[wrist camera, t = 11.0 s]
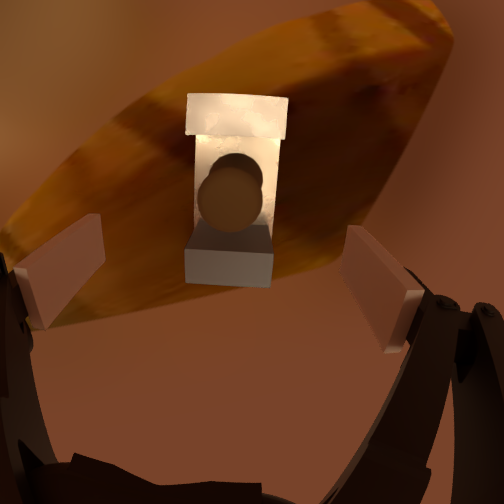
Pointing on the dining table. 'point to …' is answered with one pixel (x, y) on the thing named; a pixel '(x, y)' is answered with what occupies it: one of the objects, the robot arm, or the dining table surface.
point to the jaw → (229, 256)
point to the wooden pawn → (231, 193)
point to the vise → (238, 138)
